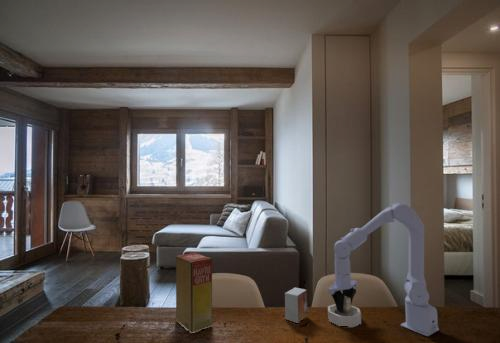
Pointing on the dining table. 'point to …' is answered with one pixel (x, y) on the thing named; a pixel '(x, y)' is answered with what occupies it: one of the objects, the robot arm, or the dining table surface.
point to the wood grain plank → (347, 306)
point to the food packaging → (194, 291)
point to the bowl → (344, 317)
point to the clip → (343, 312)
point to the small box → (296, 304)
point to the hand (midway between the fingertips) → (343, 309)
